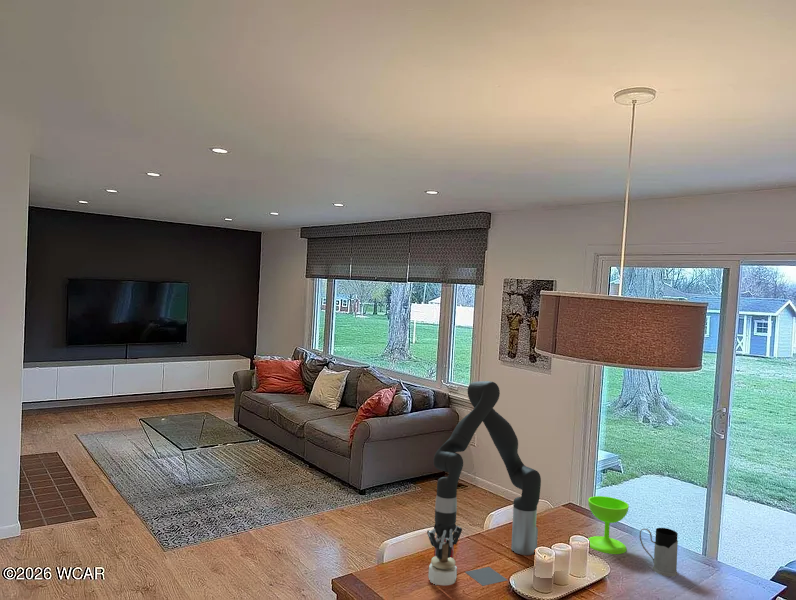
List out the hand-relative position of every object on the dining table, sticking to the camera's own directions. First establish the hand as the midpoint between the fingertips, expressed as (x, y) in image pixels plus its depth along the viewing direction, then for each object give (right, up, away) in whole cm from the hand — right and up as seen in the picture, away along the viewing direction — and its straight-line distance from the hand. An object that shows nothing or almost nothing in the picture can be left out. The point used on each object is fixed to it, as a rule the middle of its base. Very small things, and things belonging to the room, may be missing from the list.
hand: (443, 557), depth 199 cm
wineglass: (+71, -12, +38) cm, 81 cm away
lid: (0, -2, 0) cm, 2 cm away
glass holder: (+84, -13, +18) cm, 87 cm away
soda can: (+1, -8, +10) cm, 13 cm away
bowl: (0, -8, 0) cm, 8 cm away
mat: (+16, -9, +4) cm, 18 cm away
